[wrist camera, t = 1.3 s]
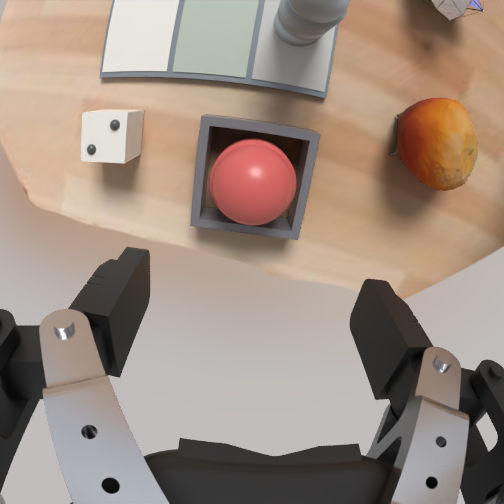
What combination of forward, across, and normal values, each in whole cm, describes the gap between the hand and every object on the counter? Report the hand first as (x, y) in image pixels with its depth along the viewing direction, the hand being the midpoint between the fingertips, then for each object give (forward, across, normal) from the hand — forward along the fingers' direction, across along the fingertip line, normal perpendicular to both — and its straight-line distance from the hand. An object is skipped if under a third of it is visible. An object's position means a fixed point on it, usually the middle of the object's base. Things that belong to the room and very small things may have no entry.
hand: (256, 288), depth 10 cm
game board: (+18, +5, -13) cm, 23 cm away
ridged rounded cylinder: (+17, -2, -13) cm, 22 cm away
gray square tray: (+18, 0, 0) cm, 18 cm away
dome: (+17, 0, 0) cm, 17 cm away
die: (+18, +12, -2) cm, 22 cm away
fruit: (+18, -15, -6) cm, 25 cm away
